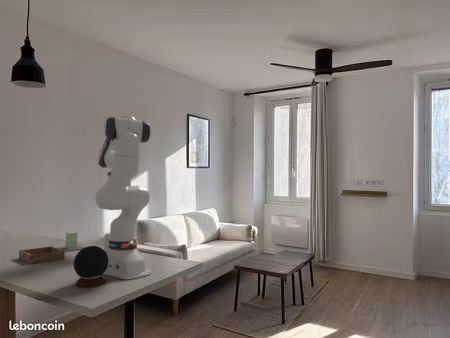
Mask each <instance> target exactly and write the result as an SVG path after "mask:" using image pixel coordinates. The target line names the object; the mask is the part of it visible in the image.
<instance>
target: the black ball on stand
mask: <svg viewBox="0 0 450 338" xmlns="http://www.w3.org/2000/svg"><path fill="white" fill-rule="evenodd" d="M84 247H85V246H84ZM107 253H108V252H105V251H104V249H103V248H102V247H100V246H98V245H97V246H96V245H88V246H86V247H85V248H83V249H82V250H78V252H77V253H76V254H75V257H74V260H73V269H74V272H75V273H76V274H77V276H78V277H79V278H78V279H77V280H76V282H75V286H76V287H78V288H80V289H91V288H97V287H102V286H104V285H105V284H106V279H105V277H103V276H102V275H104V274H103V273H104V272H105V271H106V269H107V267H108V262H109V261H108V255H107Z"/></svg>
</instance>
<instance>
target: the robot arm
mask: <svg viewBox="0 0 450 338" xmlns="http://www.w3.org/2000/svg"><path fill="white" fill-rule="evenodd" d="M103 132H104V136H105V137H106V138H105V140H104V143H103V144H102V147H101V149H100V151H99V153H98V155H97V158H96V159H97V164H98V166H100V167H101V168H102V169H103V168H104V169H107V168H111V170H110V171H108V172H107V176H108V177H107V182H106V183H105V184H103V186H101V187H100V188H99V189H98V190H97V192H96V193H95V199H94V200H95V203H96V205H97V207H98V209H99V208H100V209H102V210H107V211H116V210H118V211H119V210H120V214H119V215H118V216H117V217H116V218H114V219H113V220H112V221H111V222H110V228H109V232H110V240H109V251H108V252H106V253H107V255H108V261H109V262H108V267H107V269H106V271H105V272H104V273H103V274H102V275H104V276H105V275H106V276H108V277H113V278H117V279H122V280H133V279H139V278H143V277H146V276H149V275H151V274H152V271H151V270H149V269H148V268H147V265H146V264H147V263H146V257H144V256H143V255H142V253H141V252H140V251H139V250H138V242H137V240H136V226H137V221H138V218H139V215H140V214H141V212H142V211H143V210H144V208H146V207H147V206H148V205H149V203H150V200H151V196H150V192H149V191H150V190H148V189H147V188H146V187H143V186H139V185H131V183H132V182H131V179H133V178H135V177H136V176H137V175H138V173H139V167H140V152H141V150H140V147H141V146H140V143H147V142H149V140H150V139H151V136H152V127H151V124H150V123H149V122H148V121H144V120H138V119H136V118H135V117H134V116H132V115H130V114H123V115H121V116H120V117H115V116H113V117H112V116H111V117H108V118H107V119H106V120H105V122H104V125H103Z"/></svg>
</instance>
